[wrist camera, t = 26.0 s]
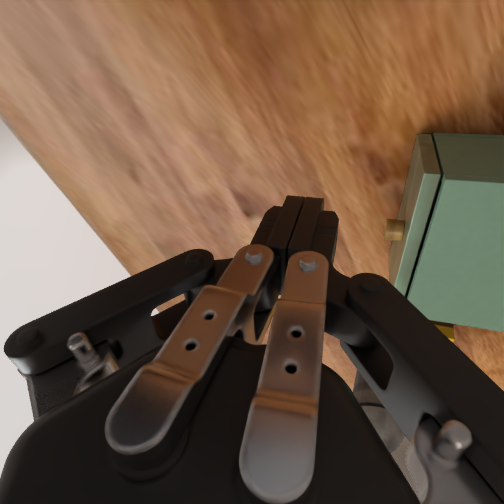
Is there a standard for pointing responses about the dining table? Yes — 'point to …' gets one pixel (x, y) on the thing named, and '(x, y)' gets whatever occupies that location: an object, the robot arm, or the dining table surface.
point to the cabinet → (464, 236)
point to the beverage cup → (377, 414)
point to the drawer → (413, 213)
